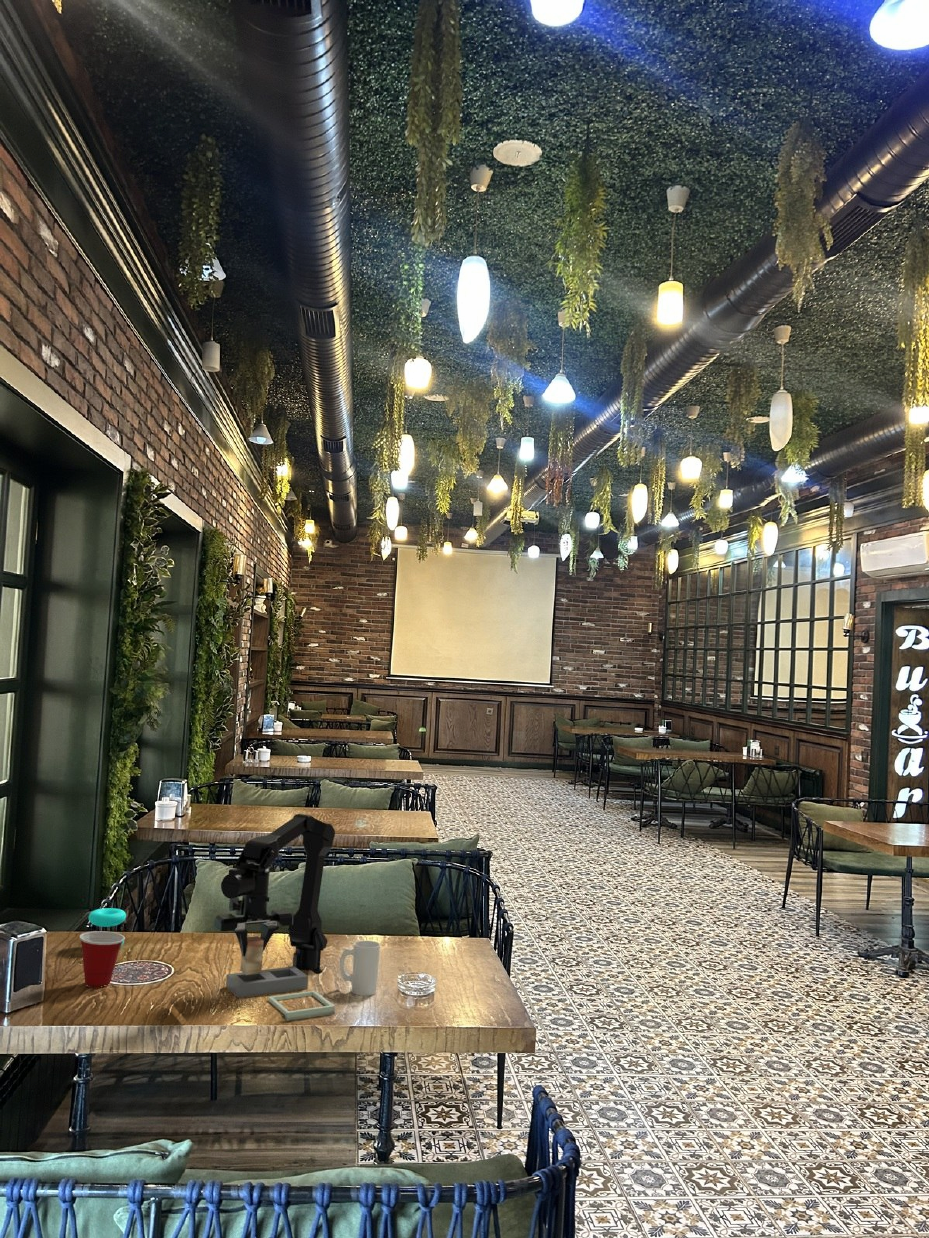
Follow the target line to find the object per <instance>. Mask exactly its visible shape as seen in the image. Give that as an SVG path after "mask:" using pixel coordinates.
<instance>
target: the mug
mask: <svg viewBox="0 0 929 1238" xmlns="http://www.w3.org/2000/svg"><path fill="white" fill-rule="evenodd" d="M380 950H381V943H379V942H377V941H373V940H358V941H355V942H354V943H353V949H350V947H349V948H348V947H345V948H344V951H343V952H342V954H341V956H340V959H339V970H340V974H341V976H342V979H343V981H345V982H347V981H348V982H351V993H352V994H353V995H356V996H360V997H367V996H368V997H370V996H373V995H376V993H377V987H378V986H377V985H378V979H379V978H378V977H379V976H378V975H379V963H380V952H381V951H380ZM349 955H350V956H352V959H353V960H352V973H351V974H348V973H347V972H346V970H345V966H344V963H345V959H346V958H347V956H349Z"/></svg>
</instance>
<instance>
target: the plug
mask: <svg viewBox="0 0 929 1238" xmlns="http://www.w3.org/2000/svg"><path fill="white" fill-rule="evenodd" d="M263 943H264V940H263V939H261V938H260V936H259V935H257V936H247V946H246V954H245V957H243V956H242V954H241V957H240V958H241V959H240V972H241V973H242V972H243V973H244V974H245V975H250V974H259V973H261V971H262V970H263V958H264V957H263V955H264V951H263Z"/></svg>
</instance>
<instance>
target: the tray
mask: <svg viewBox="0 0 929 1238" xmlns="http://www.w3.org/2000/svg"><path fill="white" fill-rule="evenodd" d="M312 996H313V998H315V999H316V1000H318V1002H320V1003H321V1004H323V1005H324V1006H318V1007H309V1008H303V1009H302V1008H301V1009H297V1010H291V1011H289V1010H288V1009H287V1008H286V1007H285V1006H284V1005H282V1004H281V1003H280V1002H279V1001H283V1000H290V999H298V998H305V997H306V998H307V997H312ZM267 1001H268V1002H269V1003H270V1004H272V1005H273V1006H274V1007H275V1008H276V1009H277V1010H279V1011H280V1012H281V1013H282V1014H283V1015H281V1017H282V1019H283V1020H285V1021H286V1022H289V1021H297V1020H302V1019H309V1018H310V1019H311V1018H315V1017H321V1016H329V1015H334V1014H335V1008H336V1006H335V1005H334V1004H333V1003H332V1002H330V1001H329V1000H327V999H326V998H325V997H324V996H323V995H321V994H320V993H318V992H317V991H316V990H311V991H310V990H309V991H303V992H297V993H296V992H295V993H287V994H281V995H279V994H278V995H272V996H268V999H267Z"/></svg>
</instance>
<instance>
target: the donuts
mask: <svg viewBox="0 0 929 1238" xmlns="http://www.w3.org/2000/svg"><path fill="white" fill-rule="evenodd" d="M126 918H127V913H126V912H125V911H124V910H123V909H120V908H114V907H113V908H112V907H110V908H109V907H108V908H107V907H106V908H104V907H103V908H98V909H94V910H91V912H90V913H89V914H88V918H87V919H88V921H89V923H91V924H92V925H94V926H95V927H103V928H104V927H106V928H108V927H115V926H118V925H120V924H123V922H124V921H125V920H126ZM113 932H114V933H116V932H115V931H113ZM124 943H125V940H124V941H123V942H122V945H121V947H123V945H124Z"/></svg>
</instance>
